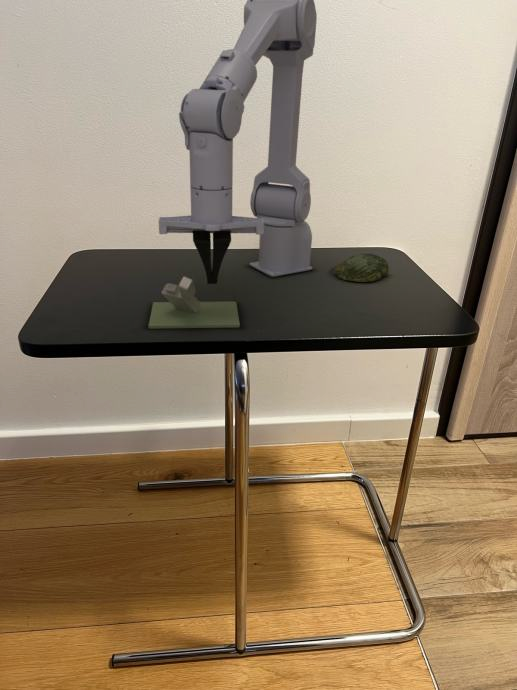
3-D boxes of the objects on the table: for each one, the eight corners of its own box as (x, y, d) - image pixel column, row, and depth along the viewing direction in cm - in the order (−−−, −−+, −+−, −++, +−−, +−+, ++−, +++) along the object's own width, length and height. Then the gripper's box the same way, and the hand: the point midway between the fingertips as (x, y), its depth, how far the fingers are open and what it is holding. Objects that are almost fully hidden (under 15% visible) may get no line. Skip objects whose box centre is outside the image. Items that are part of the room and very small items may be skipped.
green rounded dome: (337, 243, 105) (390, 248, 103) (335, 263, 107) (387, 268, 105) (333, 262, 96) (390, 267, 95) (331, 283, 98) (387, 289, 97)
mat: (236, 304, 86) (236, 301, 86) (239, 327, 78) (239, 324, 78) (153, 305, 85) (153, 302, 85) (148, 328, 77) (148, 325, 77)
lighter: (175, 308, 83) (147, 279, 76) (180, 298, 83) (152, 269, 77) (211, 317, 79) (184, 287, 73) (217, 307, 80) (190, 277, 73)
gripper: (155, 191, 69) (160, 291, 75) (267, 193, 71) (264, 290, 77) (158, 182, 75) (163, 274, 81) (262, 183, 77) (259, 274, 83)
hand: (212, 281), depth 80 cm, fingers closed
